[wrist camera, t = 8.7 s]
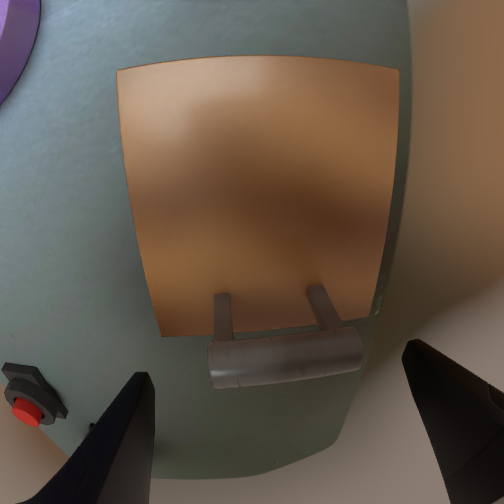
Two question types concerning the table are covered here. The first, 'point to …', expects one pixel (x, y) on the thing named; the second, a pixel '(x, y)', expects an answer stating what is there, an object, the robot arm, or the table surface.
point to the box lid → (261, 204)
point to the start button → (27, 412)
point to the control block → (32, 391)
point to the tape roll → (16, 39)
